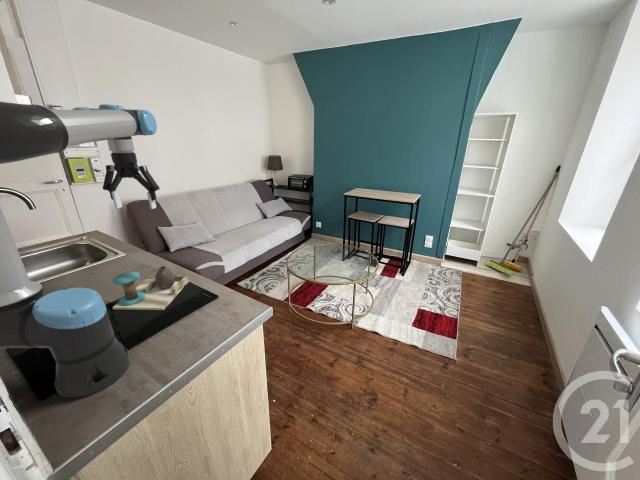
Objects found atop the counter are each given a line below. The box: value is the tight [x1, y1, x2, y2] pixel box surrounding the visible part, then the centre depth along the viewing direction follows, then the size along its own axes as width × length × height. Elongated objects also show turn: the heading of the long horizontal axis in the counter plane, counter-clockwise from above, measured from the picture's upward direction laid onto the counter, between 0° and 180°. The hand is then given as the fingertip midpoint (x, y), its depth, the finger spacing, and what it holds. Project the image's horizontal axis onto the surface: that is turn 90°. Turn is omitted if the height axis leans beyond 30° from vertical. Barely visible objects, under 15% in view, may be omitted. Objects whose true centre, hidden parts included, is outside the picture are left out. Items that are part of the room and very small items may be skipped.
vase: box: [154, 265, 176, 289], centre depth 106 cm, size 7×7×9 cm
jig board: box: [112, 271, 189, 311], centre depth 102 cm, size 20×18×11 cm
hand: (136, 208), depth 104 cm, fingers open, 13 cm apart
